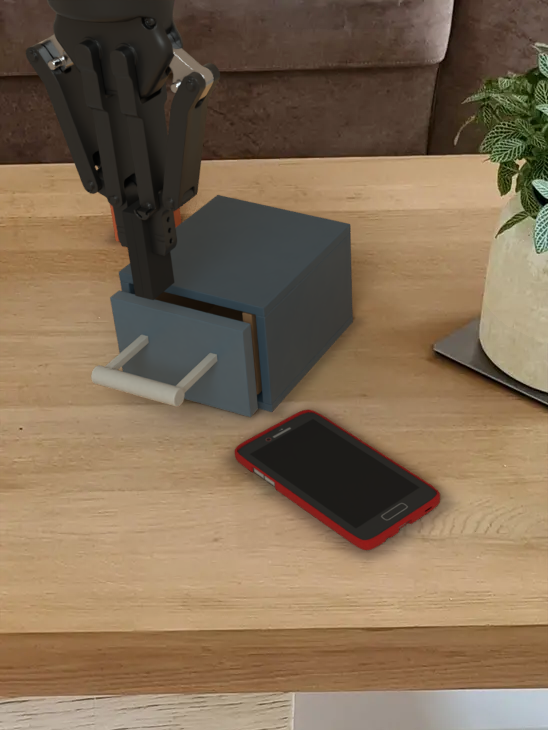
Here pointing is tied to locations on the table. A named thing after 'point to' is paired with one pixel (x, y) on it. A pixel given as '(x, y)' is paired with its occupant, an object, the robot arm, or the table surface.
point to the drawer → (184, 352)
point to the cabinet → (268, 281)
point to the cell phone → (338, 478)
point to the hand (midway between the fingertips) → (155, 288)
